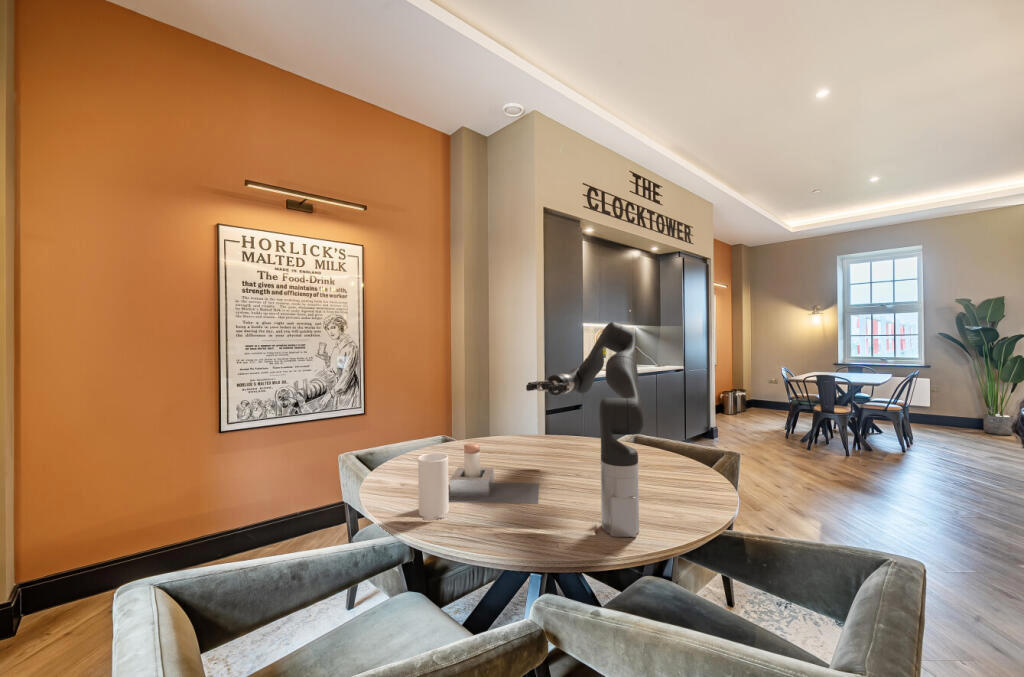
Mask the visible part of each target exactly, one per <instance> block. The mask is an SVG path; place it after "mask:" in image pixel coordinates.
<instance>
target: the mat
mask: <svg viewBox="0 0 1024 677" xmlns="http://www.w3.org/2000/svg"><path fill="white" fill-rule="evenodd" d="M539 487H540V482H495V481H494V484H493V487H492V489H491V492H490V495H489V497H477V496H450V491H449V503H472V504H473V503H477V504H478V503H479V504H482V503H483V504H487V503H488V504H523V505H525V504H527V505H538V504H539V492H540V491H539V490H540V488H539Z"/></svg>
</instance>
